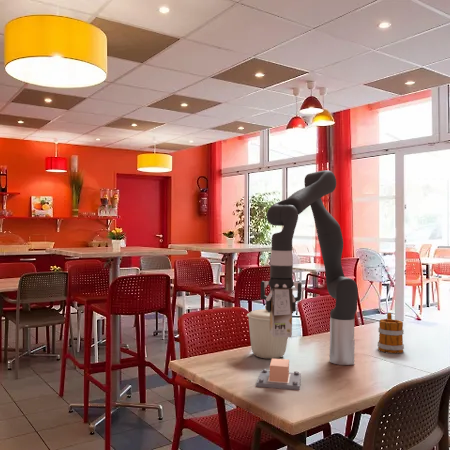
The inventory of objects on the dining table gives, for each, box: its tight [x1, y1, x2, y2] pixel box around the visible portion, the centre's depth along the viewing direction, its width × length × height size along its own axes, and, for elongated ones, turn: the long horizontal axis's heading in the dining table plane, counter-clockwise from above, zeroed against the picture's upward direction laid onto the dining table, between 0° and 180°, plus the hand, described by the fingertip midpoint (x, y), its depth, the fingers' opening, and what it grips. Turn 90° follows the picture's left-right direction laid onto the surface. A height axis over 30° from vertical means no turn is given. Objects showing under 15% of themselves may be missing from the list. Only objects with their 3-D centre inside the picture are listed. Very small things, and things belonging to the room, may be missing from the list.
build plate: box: [255, 368, 302, 391], centre depth 165 cm, size 14×14×2 cm
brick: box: [269, 358, 290, 382], centre depth 165 cm, size 6×9×5 cm, turn 170°
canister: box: [246, 304, 289, 360], centre depth 198 cm, size 18×18×21 cm
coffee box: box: [269, 286, 294, 338], centre depth 165 cm, size 9×6×16 cm
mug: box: [377, 312, 405, 354], centre depth 213 cm, size 11×16×15 cm, turn 166°
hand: (280, 312), depth 165 cm, fingers closed on coffee box, 7 cm apart
